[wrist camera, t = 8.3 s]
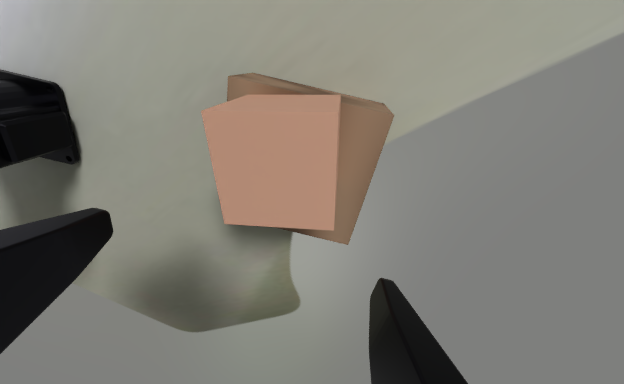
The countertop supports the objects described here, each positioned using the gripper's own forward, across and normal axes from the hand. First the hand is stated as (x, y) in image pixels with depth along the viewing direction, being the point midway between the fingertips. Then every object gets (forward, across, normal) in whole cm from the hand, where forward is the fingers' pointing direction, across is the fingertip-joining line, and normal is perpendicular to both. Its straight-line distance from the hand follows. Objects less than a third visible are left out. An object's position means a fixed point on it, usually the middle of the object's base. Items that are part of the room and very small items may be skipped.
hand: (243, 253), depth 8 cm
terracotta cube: (+8, 0, -2) cm, 8 cm away
